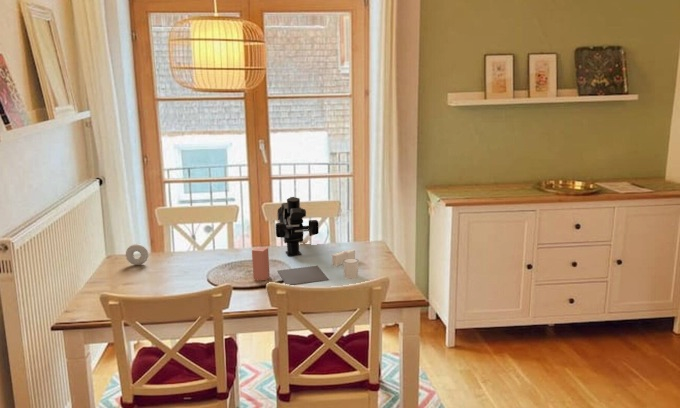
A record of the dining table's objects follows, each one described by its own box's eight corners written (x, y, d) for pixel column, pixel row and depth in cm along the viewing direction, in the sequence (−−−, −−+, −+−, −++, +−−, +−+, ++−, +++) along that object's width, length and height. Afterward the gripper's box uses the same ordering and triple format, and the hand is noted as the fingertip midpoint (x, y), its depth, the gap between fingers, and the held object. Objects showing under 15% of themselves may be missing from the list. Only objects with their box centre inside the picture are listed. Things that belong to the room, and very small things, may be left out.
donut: (150, 263, 268) (148, 242, 266) (148, 265, 265) (146, 244, 262) (127, 264, 267) (125, 243, 265) (125, 266, 264) (123, 245, 261)
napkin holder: (330, 269, 257) (330, 256, 255) (327, 260, 268) (326, 248, 266) (364, 266, 259) (363, 254, 257) (359, 258, 270) (359, 246, 268)
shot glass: (345, 280, 242) (345, 264, 240) (341, 274, 248) (340, 258, 247) (361, 278, 244) (361, 262, 242) (356, 272, 250) (356, 257, 249)
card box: (259, 275, 249) (257, 246, 246) (269, 276, 247) (268, 247, 244) (253, 279, 244) (251, 250, 241) (264, 281, 243) (262, 251, 240)
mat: (277, 271, 254) (277, 270, 254) (317, 266, 259) (317, 265, 259) (286, 285, 237) (286, 284, 237) (329, 280, 242) (328, 279, 242)
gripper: (273, 207, 259) (277, 219, 244) (314, 204, 263) (321, 216, 248) (274, 230, 263) (278, 244, 248) (315, 227, 266) (321, 240, 252)
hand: (300, 235), depth 249 cm, fingers open, 9 cm apart
